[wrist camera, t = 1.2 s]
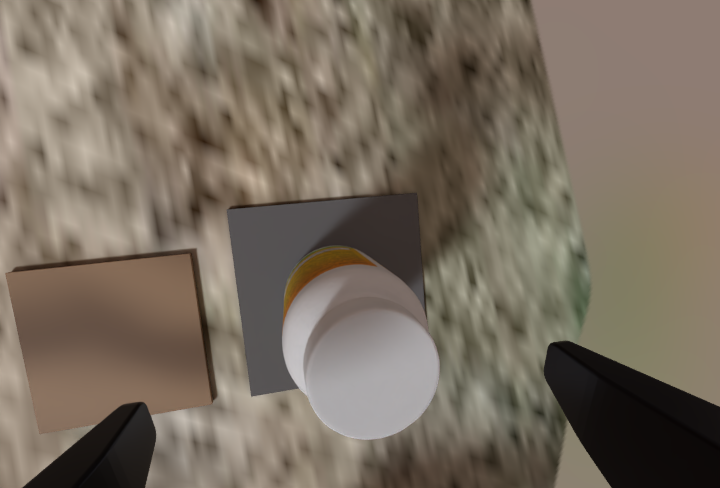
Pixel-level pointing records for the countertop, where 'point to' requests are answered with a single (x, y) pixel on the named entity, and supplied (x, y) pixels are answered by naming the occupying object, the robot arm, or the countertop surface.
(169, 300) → the walnut coaster
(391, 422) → the supplement bottle
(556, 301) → the countertop surface
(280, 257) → the mat
